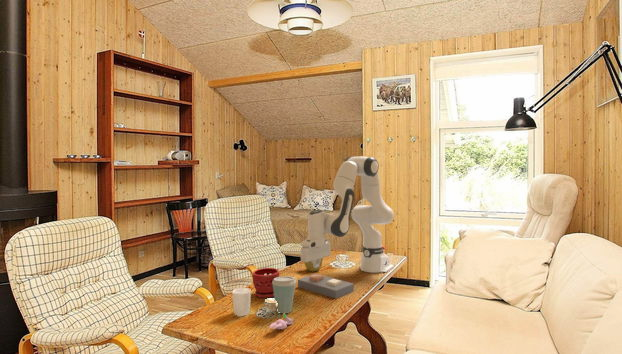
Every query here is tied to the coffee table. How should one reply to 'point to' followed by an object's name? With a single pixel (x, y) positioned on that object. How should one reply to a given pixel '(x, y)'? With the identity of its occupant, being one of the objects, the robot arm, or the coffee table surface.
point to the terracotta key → (316, 277)
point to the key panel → (324, 291)
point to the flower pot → (310, 266)
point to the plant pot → (264, 281)
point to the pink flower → (282, 323)
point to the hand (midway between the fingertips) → (316, 267)
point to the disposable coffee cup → (284, 292)
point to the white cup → (241, 301)
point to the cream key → (334, 282)
